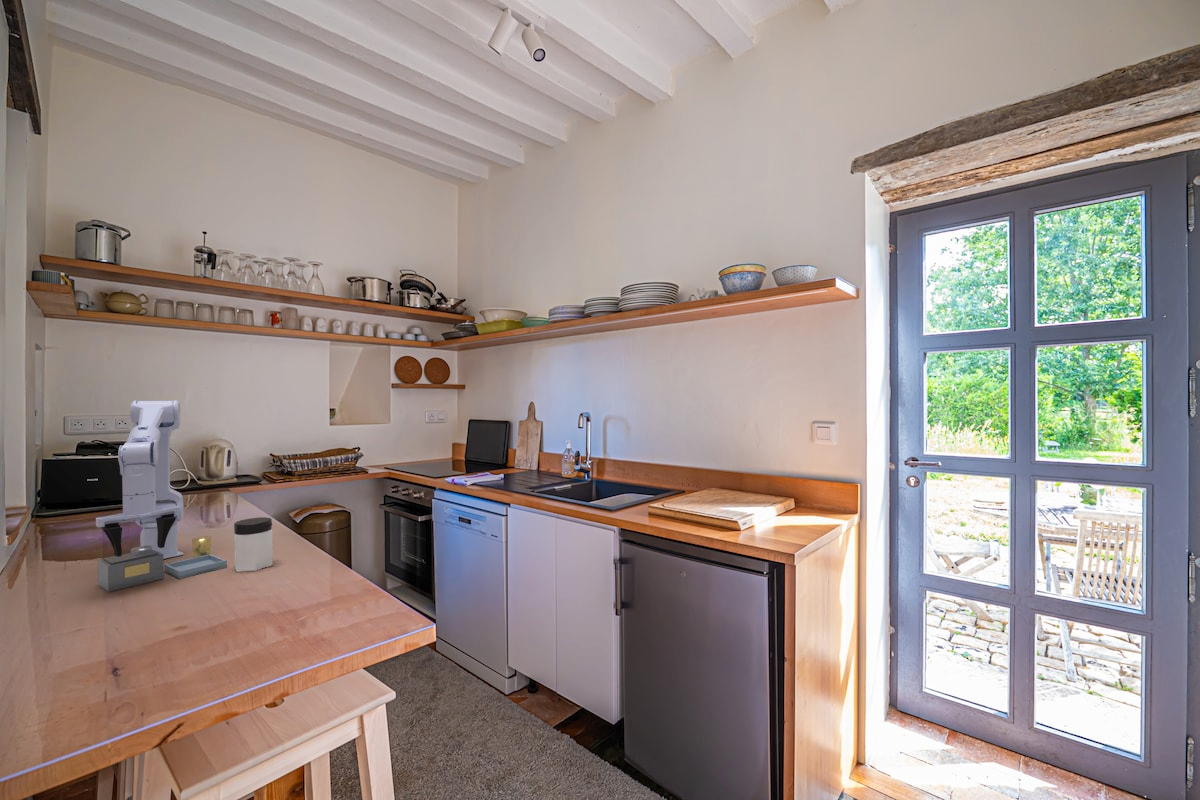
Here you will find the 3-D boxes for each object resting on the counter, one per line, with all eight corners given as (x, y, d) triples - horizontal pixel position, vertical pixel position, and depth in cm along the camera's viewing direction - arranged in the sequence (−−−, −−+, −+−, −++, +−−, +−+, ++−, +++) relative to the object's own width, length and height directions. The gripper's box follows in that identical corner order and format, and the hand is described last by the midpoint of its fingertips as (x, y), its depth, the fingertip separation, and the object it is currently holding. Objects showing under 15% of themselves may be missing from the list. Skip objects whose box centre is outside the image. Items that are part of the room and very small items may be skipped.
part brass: (190, 560, 138) (189, 538, 138) (207, 556, 141) (207, 535, 141) (196, 563, 136) (195, 541, 136) (213, 559, 139) (213, 537, 139)
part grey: (128, 572, 129) (128, 548, 129) (149, 567, 133) (148, 544, 133) (134, 575, 127) (133, 551, 127) (154, 570, 131) (154, 547, 131)
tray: (164, 571, 129) (164, 564, 129) (211, 560, 138) (210, 554, 138) (179, 578, 124) (179, 571, 124) (226, 567, 132) (226, 560, 132)
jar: (274, 567, 132) (274, 521, 132) (236, 574, 127) (235, 526, 127) (270, 559, 139) (269, 515, 139) (233, 565, 134) (232, 520, 134)
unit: (97, 584, 120) (97, 558, 120) (151, 572, 129) (151, 547, 129) (108, 592, 116) (108, 564, 116) (164, 578, 124) (163, 553, 124)
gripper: (102, 500, 110) (102, 562, 110) (184, 490, 122) (185, 546, 123) (92, 497, 114) (93, 557, 114) (173, 487, 126) (174, 541, 126)
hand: (140, 551), depth 119 cm, fingers open, 7 cm apart
